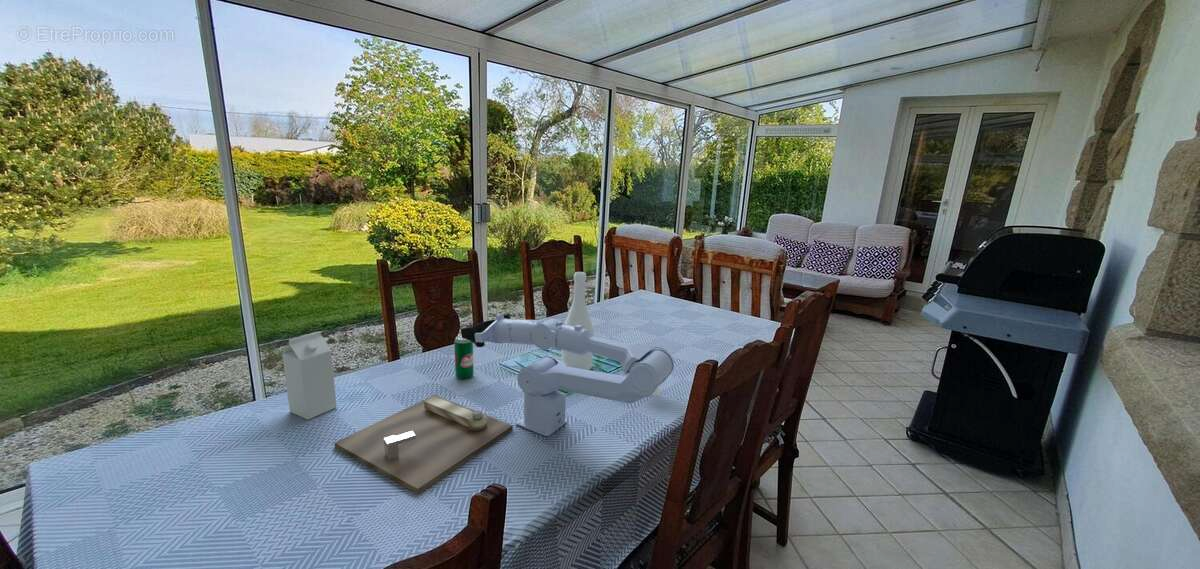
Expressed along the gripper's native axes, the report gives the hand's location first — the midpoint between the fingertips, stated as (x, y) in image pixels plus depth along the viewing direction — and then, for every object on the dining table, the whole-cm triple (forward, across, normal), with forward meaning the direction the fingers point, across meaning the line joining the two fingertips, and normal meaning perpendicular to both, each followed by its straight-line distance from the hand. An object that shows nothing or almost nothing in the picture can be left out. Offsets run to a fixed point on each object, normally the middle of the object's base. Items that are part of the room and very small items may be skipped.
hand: (473, 329), depth 113 cm
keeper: (-1, +25, +20) cm, 32 cm away
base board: (0, +18, +21) cm, 27 cm away
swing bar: (-1, +10, +19) cm, 21 cm away
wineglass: (-34, -31, +24) cm, 52 cm away
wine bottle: (-8, -33, +20) cm, 40 cm away
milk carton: (+32, +23, +16) cm, 42 cm away
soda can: (+16, -10, +17) cm, 25 cm away
